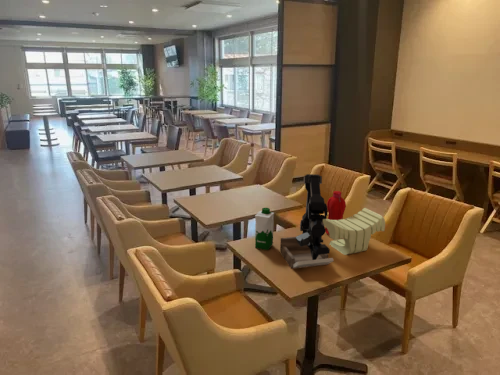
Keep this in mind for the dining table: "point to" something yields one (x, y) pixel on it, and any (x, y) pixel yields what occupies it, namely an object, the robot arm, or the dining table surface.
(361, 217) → the slatted curved stool
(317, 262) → the panel
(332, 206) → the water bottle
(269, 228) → the milk carton
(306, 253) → the brown open box
